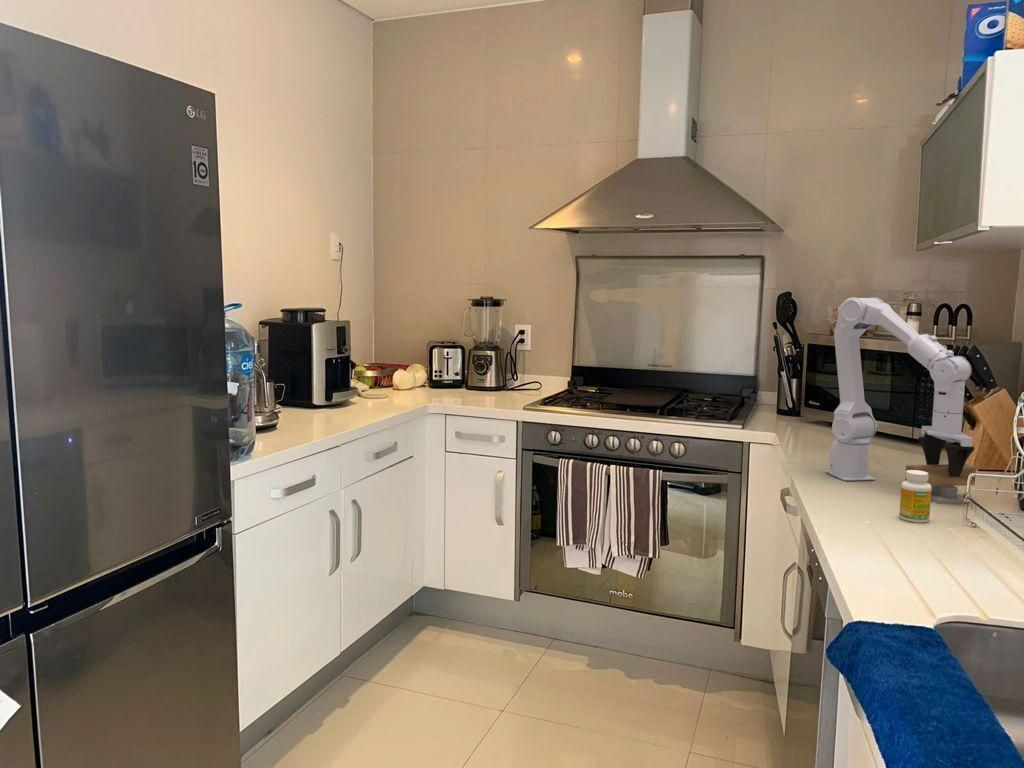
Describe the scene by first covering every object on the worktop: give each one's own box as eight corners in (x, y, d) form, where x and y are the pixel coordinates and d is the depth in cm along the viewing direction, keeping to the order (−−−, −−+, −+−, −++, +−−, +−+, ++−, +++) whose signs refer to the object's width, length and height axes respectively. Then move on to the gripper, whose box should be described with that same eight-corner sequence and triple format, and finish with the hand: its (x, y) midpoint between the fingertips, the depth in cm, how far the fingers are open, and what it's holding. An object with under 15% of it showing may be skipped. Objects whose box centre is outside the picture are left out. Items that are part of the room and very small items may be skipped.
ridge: (914, 493, 176) (915, 479, 176) (943, 492, 177) (944, 478, 177) (939, 503, 168) (940, 489, 167) (969, 503, 168) (970, 488, 168)
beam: (904, 482, 173) (906, 465, 172) (963, 481, 174) (965, 464, 174) (914, 486, 169) (915, 468, 169) (974, 485, 171) (976, 467, 170)
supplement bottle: (913, 524, 153) (916, 475, 152) (892, 516, 158) (896, 469, 157) (935, 522, 154) (938, 474, 153) (914, 514, 159) (918, 468, 158)
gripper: (910, 407, 177) (906, 465, 178) (952, 417, 162) (947, 480, 164) (939, 406, 177) (935, 464, 179) (983, 417, 163) (978, 480, 165)
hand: (943, 472), depth 172 cm, fingers open, 7 cm apart
